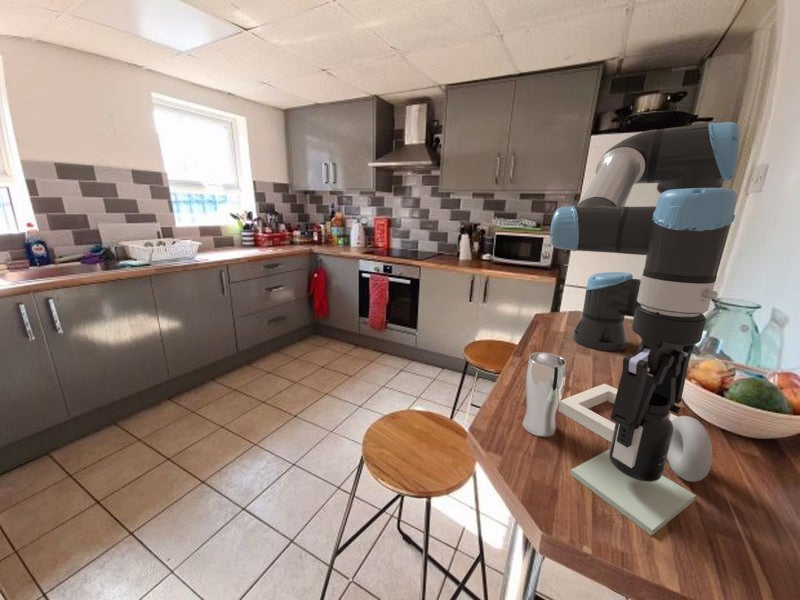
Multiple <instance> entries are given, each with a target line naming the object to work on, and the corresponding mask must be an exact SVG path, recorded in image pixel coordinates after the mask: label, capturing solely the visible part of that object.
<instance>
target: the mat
mask: <svg viewBox="0 0 800 600" xmlns="http://www.w3.org/2000/svg"><path fill="white" fill-rule="evenodd" d="M609 454H610V448H609V449H607V450H605V451H604V452H602V453H598V455H596V456H594V457H592V458H590V459H588V460H587V461H585V462H583V463H581V464H579V465H577V466H576V467H574V468H572V469H571V470H570V475H571V477H573V478H574V479H576V480H577V481H578V482H580V484H582V485H584V486H585V488H587V489H589V490H590V491H591V492H593V493H594V494H595V495H597V497H599V498H600V499H602V501H604V502H606V503H607V504H608V505H610V506H611V507H612V508H614V509H615V510H616V511H617V512H619V513H620V514H621V515H623V516H624V517H626V519H628V520H629V521H631V522H632V523H633V524H635V525H636V526H637V527H638V528H640V529H641V530H643V531H644V532H645V533H647V534H648V535H649V536H651V537H652V536H654V534H655V533H656V532H658V531H659V530H660V529H662V527H664V526H665V525H666V524H668V523H669V522H670V521H671V520H673V519H674V518H675V517H677V515H679V514H680V513H682V511H684V510H685V509H686V508H687V507H688V506H690V505H691V504H692V503H694V502H695V499H696V496H697V495H696V494H695V493H693V492H691V491H689V490H688V489H686V488H684V487H683V486H682V485H679V484H677V482H674V481H673V480H671V479H669V478H668V477H665V476H664V475H663V474H662V477H661V478H660V479H659V480H657V481H653V482H645V481H640V480H636V479H633V478H631V477H629V476H627V475H625V474H623V473H622V472H620V471H619V470H618V469H617V468H616V467H615V466H614V465H613V464H612V462H611V460H610V457H609Z"/></svg>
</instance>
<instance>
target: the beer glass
mask: <svg viewBox="0 0 800 600" xmlns="http://www.w3.org/2000/svg"><path fill="white" fill-rule="evenodd" d="M566 378H567V361H566V359H565V358H563V357H562V356H560V355H557V354H554V353H551V352H545V351H544V352H541V351H540V352H533V353H531V354H530V355H529V356H528V362H527V366H526V373H525V381H524V382H525V383H524V384H525V396H526V397H525V398H526V399H525V400H526V411H525V413H524V414H525V415H524V417H523V420H522V426H523V428H524V429H525V431H527V432H528V433H530V434H532V435H534V436H536V437H541V438H548V437H551V436H553V435H555V433H556V413H557V411H558V409H559V403H560V401H561V400H562V397H563V393H564V390H565V385H566Z"/></svg>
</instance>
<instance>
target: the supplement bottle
mask: <svg viewBox="0 0 800 600" xmlns="http://www.w3.org/2000/svg"><path fill="white" fill-rule="evenodd" d="M669 409H670V402H669V401H668V399H666V398H665V397H663V396H661V395H659V394H657V393H654V392H653V394H652V397H651V399H650V402H649V404H648V406H647V409H646V411H645V414H644V416H643V419H642V421H641V424H640V426H641V427H643V430H642V435H641V439H640V443H639V448H638V452H637V456H636V461H635V465H634V467H632V468H630V467H629V466H627V465H626V464H624V463H622V462H621V461H619V460H618V459H616V458H614V457H613V456H612V455H613V450H614V445H615V440H616V436H617V431H618V426H619V423H617V422H615V428H614V433H613V438H612V443H611V442H610V448H609V449H610V454H609V457H610V460H611V462H612V464H613V465H614V466H615V467H616V468H617V469H618V470H619V471H620V472H622V473H623V474H625V475H627V476H629V477H631V478H633V479H636V480H640V481H645V482H653V481H657V480H659V479H660V478H661V477H662V475H663V474H664V470H665V466H666V463H667V460H668V459H667V455H668V451H669V447H670V443H671V439H672V436H673V431H674V427H673V424H672V422H671V420H670V419H669V418H668V415H669V412H670V411H669Z"/></svg>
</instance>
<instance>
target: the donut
mask: <svg viewBox="0 0 800 600" xmlns="http://www.w3.org/2000/svg"><path fill="white" fill-rule="evenodd" d="M671 422H672V424H673V427H674V431H673V436H672V439H671V443H670V447H669V451H668V455H667V459H666V460H667V462H668V463H669V467H670V468H671V469H672V471H673V472H674V474H675V475H677V476H678V477H680V478H681V479H683V480H684V481H687V482H698V481H702V480H703V479H704V478H705V477H706V476H708V475H709V472H710V470H711V467H712V463H713V446H712V441H711V438H710V434H709V432H708V431H707V429H706V427H705V426H704V425H703V423H701V421H699V420H698V419H696V418H694V417H691V416H687V415H680V416H678V417H677V418H675V419H673V420H672V421H671Z"/></svg>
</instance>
